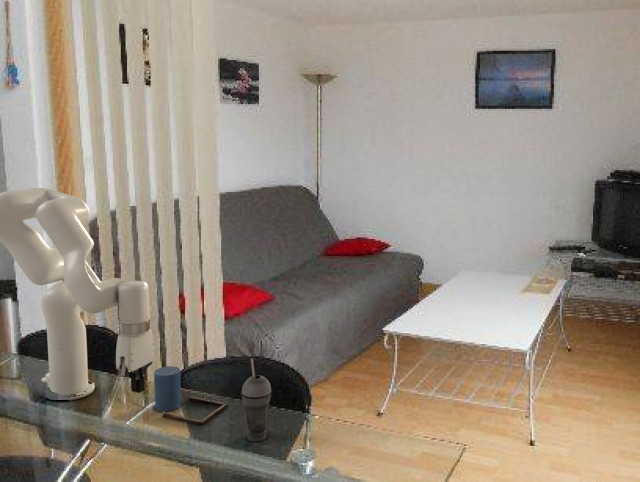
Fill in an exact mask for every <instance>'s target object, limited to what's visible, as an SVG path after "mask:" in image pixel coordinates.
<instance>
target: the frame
mask: <svg viewBox="0 0 640 482" xmlns="http://www.w3.org/2000/svg"><path fill="white" fill-rule="evenodd" d="M205 399H206V398H201V397H196V396H190V397H189V401H191V402H197V403H202V404H208V405H214V406H218V408H216V409H214V411H212V412H211V413H209V414H208V415H206V416H205V417H203V418H201V419H196V418H190V417H186V416H180V415H175V414H172V413H171V414H170V413H162V418H166V419H168V420H169V419H170V420H175V421H179V422H184V423H188V424H193V425H198V426H203V425H204V424H205V423H207V422H208V421H209V420H211V419H212V418H214V417H215V416H216V415H217V414H219V413H221V412H222V411H223V410H225V409H227V408H228V407H229V404H228V405H227V404H226V405H225V404H223V403H224V402H223V403H220V402H221V401H218V402H213V401H214V400H212V401H210V400H211V399H207V400H205Z"/></svg>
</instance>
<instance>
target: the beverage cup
mask: <svg viewBox="0 0 640 482" xmlns="http://www.w3.org/2000/svg"><path fill="white" fill-rule="evenodd" d="M250 365H251V373H252V376H250V377H248V378H247V379H246V380H245V381H244V383H243V385H242V387H241V391H240V395H241V399H242V403H243V409H244V411H243V412H244V420H245V421H244V422H245V431H246V437H247V440H248V441H250V442H260V441H263V440H265V439H266V438H267V430H268V421H269V411H270V401H271V397H272V393H273V392H272V388H271V387H272V386H271V383H270V382H269V380H268V379H267V378H266V377H265V376H263V375H260V374H256V373H255V367H254V357H253V358H250Z"/></svg>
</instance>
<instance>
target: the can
mask: <svg viewBox="0 0 640 482" xmlns="http://www.w3.org/2000/svg"><path fill="white" fill-rule="evenodd" d="M181 373H182V372H181V368H180V367H179V366H173V365H172V366H171V365H169V366H162V367H158V368H157V369H155V370H154V372H153V377H154V409H155V410H156V411H159V412H171V411H172V412H173V411H175V410H177V409H179V408H181V406H182V383H181V381H182V380H181V378H182V377H181V375H182V374H181Z"/></svg>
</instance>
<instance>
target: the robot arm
mask: <svg viewBox="0 0 640 482" xmlns="http://www.w3.org/2000/svg"><path fill="white" fill-rule="evenodd" d="M89 208H90V207H88V205H87V203H86V202H85V201H84V200H83V199H82V198H80V197H77V196H74V195H71V194H68V193H64V192H60V191H57V190H54V189H49V188H44V187H31V188H21V189H12V190H11V189H10V190H5V191H2V192H0V242H1V244H2V245H3V246H4V247H5V248H6V250H7V251H8V252H9V253H10V255H11V257H12V258H13V260H14V261H15V262H16V263H17V265H18V266H19V268H20V269H21V270H22V272H23V273H24V274H25V276H26V277H27V279H28V280H29V281H30V282H31V283H32V284H34V285H36V286H45V285H50V284H52V283H55V282H56V283H57V282H60V281H61V282H60V283H57V284H54V285H53V286H51V287H49V288H48V289H47V290H46V291H45V292H44V293H43V295H42V296H41V302H40V304H41V310H42V314H43V316H44V317H43V318H44V321H45V327H46V339H47V341H46V342H47V355H48V356H47V357H48V359H47V360H48V372H46V373H45V375H44V377H42V378H41V380H40V381H41V383H44V384H47V385H46V386H47V388H48V387H49V388H50V390H51V391H52V392H55V393H58V394H61V395H70V394H76V395H77V396H76V397H71V398H65V399H68V400H69V401H73V400H78V399H80V398H81V399H82V398H84V397H86V396H89V395H90V394H92V393H93V392H94V391H95V389H96V388H95V382H93V383H92V384H89V383H88V381H89V369H88V345H87V344H88V343H87V328H86V325H85V322H84V321H83V319H82V317H81V314H80V313H83V312H87V313H88V314H99V313H101V312H104V311H106V310H109V309H111V308H114V307H117V306H118V313H119V314H118V315H119V316H118V317H119V334H118V335H117V340H116V348H115V368H116V370H117V371H120V377H122V378H128V379H130V391H131V392H132V393H138V394H141V393H142V392H144V391H146V385H145V377H146V375H147V371H148V368H149V367H150V366H152V364H153V361H154V360H155V343H154V337H153V336H154V335H153V332H152V328H151V316H150V314H151V313H150V293H149V291H150V290H149V289H150V288H149V285H148V283H147V282H146V281H143V280H127V279H124V278H119V277H112V278H107V279H104V280H102V281H101V280H100V279H99V277H98V276H97V274H95V272H94V270H93V269H92V268H91V266H90V265H89V263H88V262H87V256H88V255H89V253H90V252H91V251H92V250H93V249H94V247H95V242H94V240H93V239H92V237H91V236H90V234H89V233H88V231H87V230H86V229H85V227H84V226H83V225H85V223H87V222H88V221H89V218H90V209H89ZM31 219H36V220H37V222H38V223H39V225H40V226H41V228H42V230H43V231H44V232H45V234H46V235H47V236H48V238H49V240H50V241H51V243H52V244H53V245H54V247H51V246H49V245H48V244H47V242H46V241H45V240H44V239H43V237H42V235H41V234H40V233H39V232H38V231H37V230H35V229H34V228H33V227H31V226H29V225H28V224H26V223H25V222H24V221H25V220H31ZM81 394H83V395H81ZM78 395H80V396H78Z"/></svg>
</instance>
